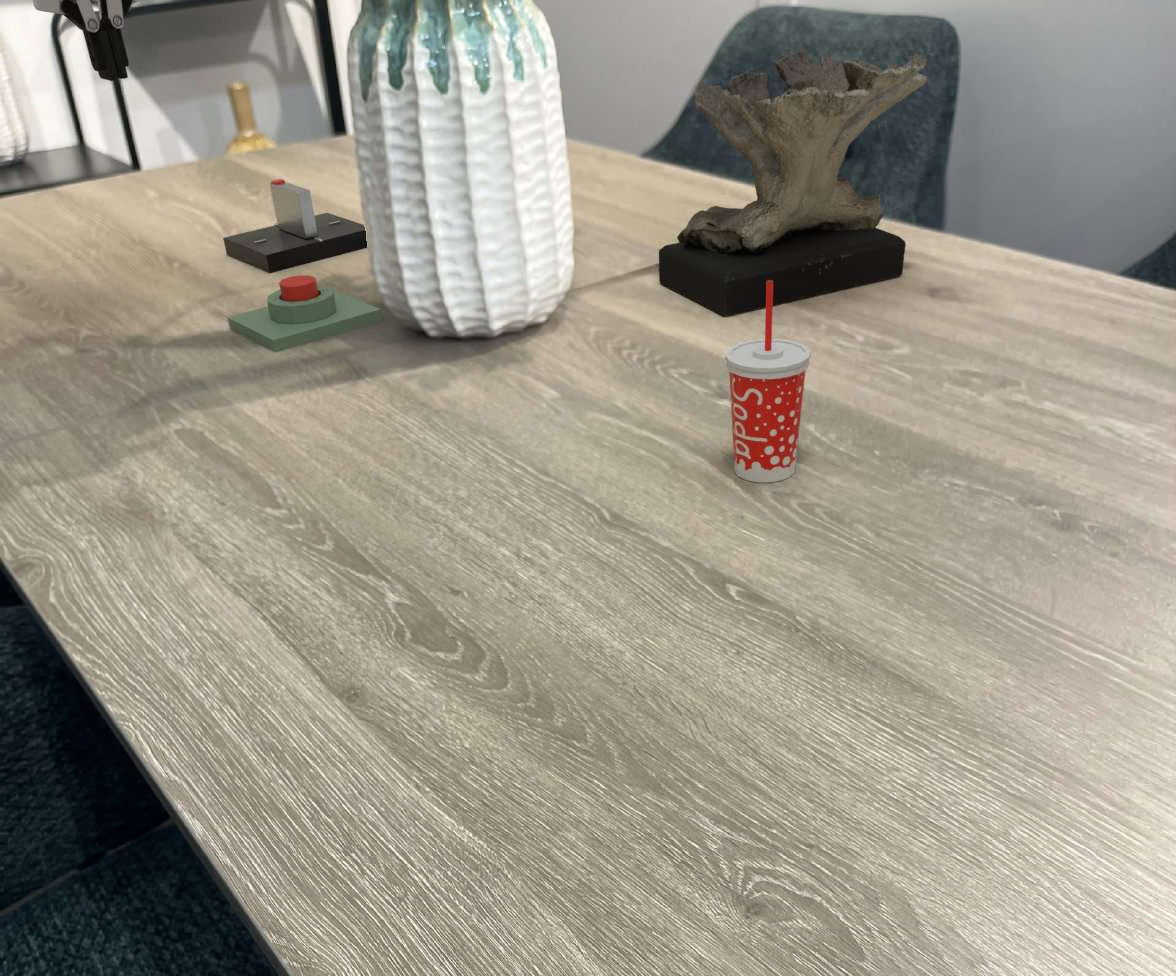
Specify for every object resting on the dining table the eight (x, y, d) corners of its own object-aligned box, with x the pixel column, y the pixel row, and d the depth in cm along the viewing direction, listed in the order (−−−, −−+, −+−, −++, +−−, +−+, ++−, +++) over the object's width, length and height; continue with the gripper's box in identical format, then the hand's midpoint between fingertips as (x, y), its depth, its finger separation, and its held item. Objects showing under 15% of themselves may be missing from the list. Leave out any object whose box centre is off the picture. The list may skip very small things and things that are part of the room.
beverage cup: (711, 463, 99) (711, 277, 90) (781, 447, 100) (788, 263, 92) (746, 493, 94) (750, 300, 86) (820, 476, 96) (830, 285, 87)
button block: (278, 362, 123) (269, 320, 121) (232, 339, 130) (222, 299, 127) (384, 331, 129) (377, 290, 126) (335, 309, 135) (328, 270, 133)
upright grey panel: (318, 236, 147) (309, 187, 144) (305, 239, 147) (296, 190, 143) (290, 225, 152) (281, 178, 149) (278, 228, 151) (268, 180, 148)
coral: (854, 241, 143) (869, 21, 130) (968, 287, 128) (997, 43, 115) (655, 281, 136) (649, 52, 123) (751, 335, 121) (756, 81, 108)
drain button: (293, 307, 125) (289, 288, 124) (276, 299, 127) (272, 281, 126) (325, 298, 127) (322, 279, 125) (308, 290, 129) (304, 272, 128)
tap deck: (272, 282, 144) (266, 253, 142) (228, 264, 151) (222, 236, 150) (378, 254, 151) (373, 226, 149) (331, 237, 158) (326, 210, 156)
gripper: (-22, -158, 103) (50, 95, 114) (151, -172, 110) (204, 69, 121) (-50, -156, 108) (22, 87, 119) (118, -170, 115) (171, 62, 126)
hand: (113, 77), depth 120 cm, fingers closed
